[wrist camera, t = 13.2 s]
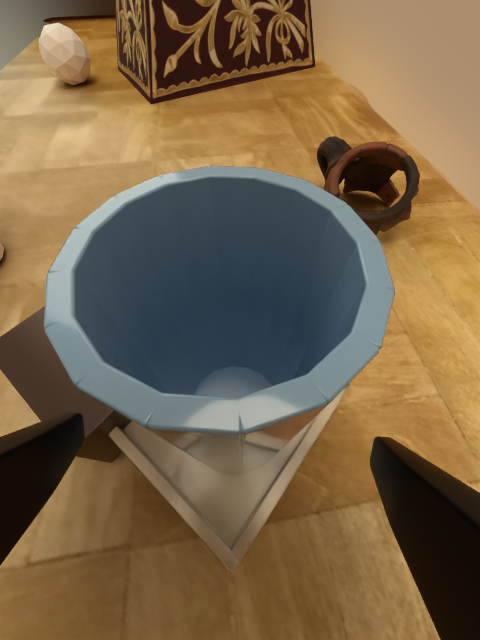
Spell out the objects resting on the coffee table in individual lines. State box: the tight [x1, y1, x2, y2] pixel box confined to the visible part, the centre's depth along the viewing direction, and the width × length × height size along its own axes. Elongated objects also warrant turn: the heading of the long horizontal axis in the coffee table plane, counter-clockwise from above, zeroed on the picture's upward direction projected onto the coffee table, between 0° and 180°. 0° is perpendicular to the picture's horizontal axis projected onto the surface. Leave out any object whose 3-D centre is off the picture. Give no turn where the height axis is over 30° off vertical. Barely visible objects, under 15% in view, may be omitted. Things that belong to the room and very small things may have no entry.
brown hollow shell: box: [317, 136, 420, 235], centre depth 28 cm, size 12×10×8 cm
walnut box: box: [0, 306, 350, 574], centre depth 18 cm, size 14×18×5 cm
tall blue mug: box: [44, 166, 395, 474], centre depth 11 cm, size 9×6×13 cm
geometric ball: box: [39, 23, 91, 85], centre depth 48 cm, size 8×8×8 cm
